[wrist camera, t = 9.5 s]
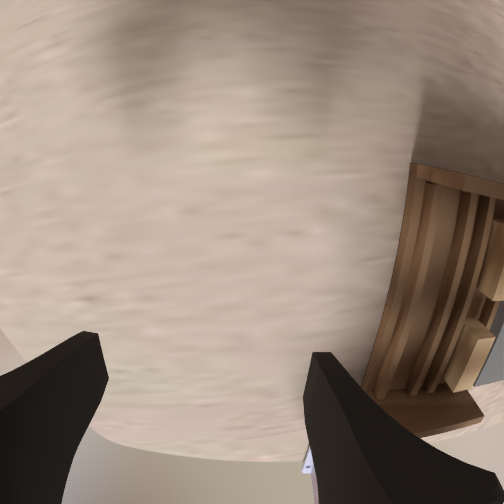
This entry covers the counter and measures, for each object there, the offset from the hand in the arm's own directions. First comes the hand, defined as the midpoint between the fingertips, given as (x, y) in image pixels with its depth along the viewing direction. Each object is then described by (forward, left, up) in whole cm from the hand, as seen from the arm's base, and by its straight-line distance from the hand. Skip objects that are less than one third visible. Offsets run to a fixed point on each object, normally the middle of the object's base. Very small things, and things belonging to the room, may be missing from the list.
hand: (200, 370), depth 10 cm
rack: (-2, -16, -10) cm, 19 cm away
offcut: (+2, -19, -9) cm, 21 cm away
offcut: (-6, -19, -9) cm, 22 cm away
